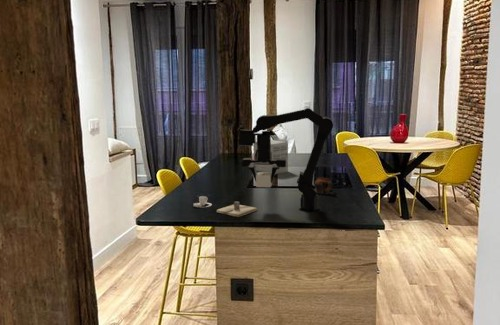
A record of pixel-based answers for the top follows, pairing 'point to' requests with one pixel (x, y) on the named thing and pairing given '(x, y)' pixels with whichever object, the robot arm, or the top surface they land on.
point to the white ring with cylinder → (202, 202)
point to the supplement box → (274, 156)
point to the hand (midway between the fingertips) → (264, 182)
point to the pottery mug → (323, 185)
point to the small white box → (263, 179)
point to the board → (236, 210)
